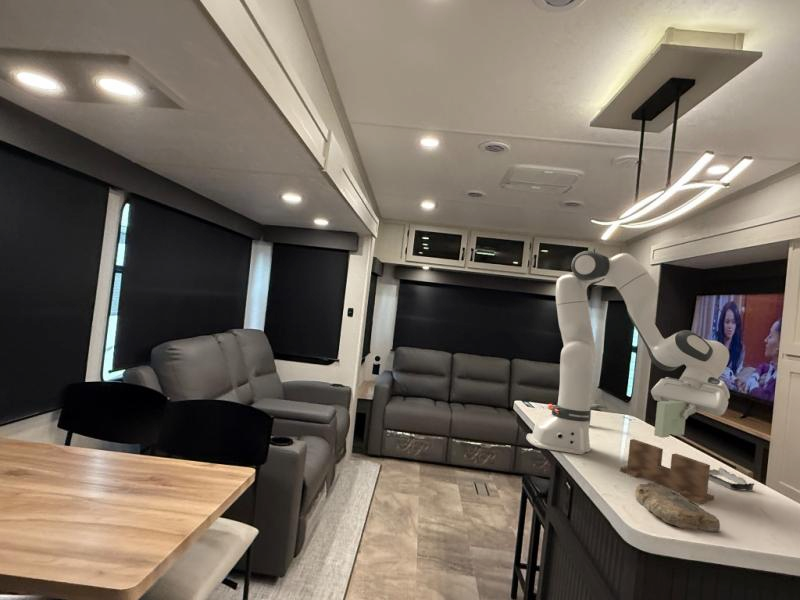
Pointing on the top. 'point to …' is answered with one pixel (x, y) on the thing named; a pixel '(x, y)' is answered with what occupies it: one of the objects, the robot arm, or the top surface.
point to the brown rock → (675, 508)
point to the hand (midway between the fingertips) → (676, 415)
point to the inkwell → (596, 406)
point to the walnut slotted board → (669, 471)
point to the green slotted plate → (669, 418)
